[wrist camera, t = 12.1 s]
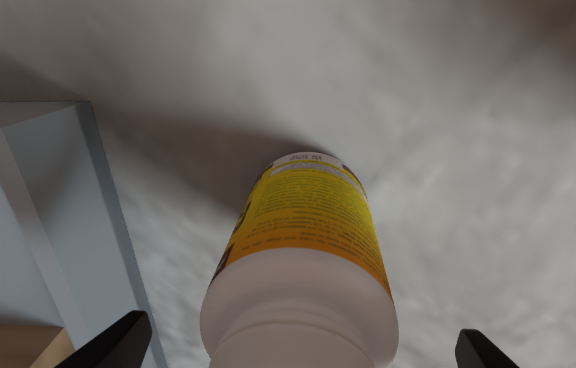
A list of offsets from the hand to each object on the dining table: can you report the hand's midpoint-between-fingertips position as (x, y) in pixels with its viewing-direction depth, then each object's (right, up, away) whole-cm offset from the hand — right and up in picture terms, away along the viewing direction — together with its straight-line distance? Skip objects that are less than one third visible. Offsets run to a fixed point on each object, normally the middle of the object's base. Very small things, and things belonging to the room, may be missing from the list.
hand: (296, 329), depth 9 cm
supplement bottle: (+1, +3, +7) cm, 8 cm away
